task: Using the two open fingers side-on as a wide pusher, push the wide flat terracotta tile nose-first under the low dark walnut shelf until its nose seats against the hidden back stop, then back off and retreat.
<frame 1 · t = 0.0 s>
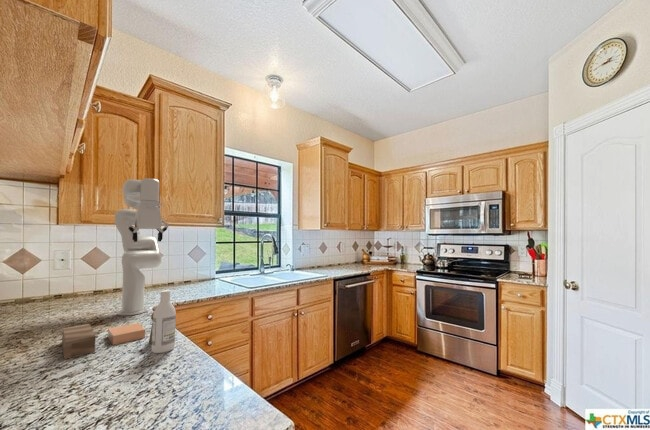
hand: (147, 241, 130), 37 cm above the countertop, tool pointing down, fingers open, 9 cm apart
tile: (126, 338, 109), on the countertop
bath foam: (163, 350, 96), on the countertop
cork: (158, 341, 104), on the countertop
shelf: (77, 347, 99), on the countertop
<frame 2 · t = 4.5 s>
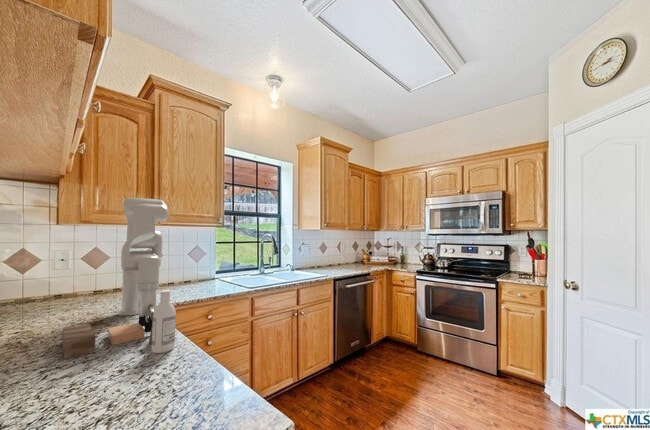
hand: (146, 328, 114), 2 cm above the countertop, tool pointing down, fingers open, 9 cm apart
tile: (125, 338, 109), on the countertop, touching gripper
everything else where it was.
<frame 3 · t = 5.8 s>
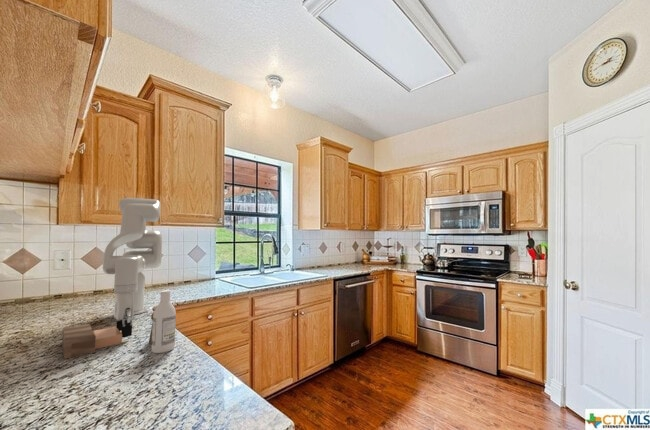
hand: (123, 333, 108), 2 cm above the countertop, tool pointing down, fingers open, 9 cm apart
tile: (101, 343, 103), on the countertop, touching gripper
everything else where it was.
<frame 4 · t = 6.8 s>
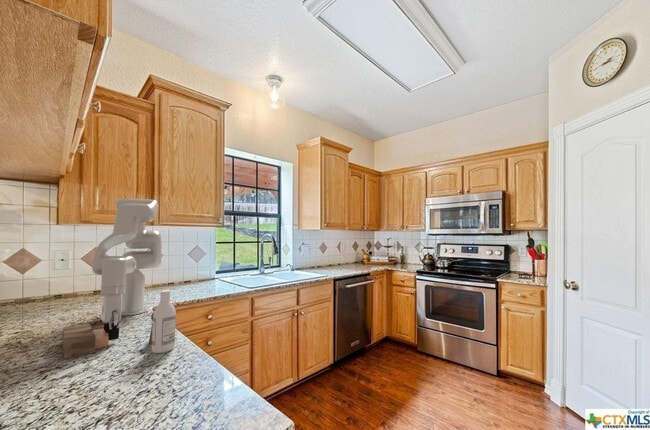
hand: (110, 336, 105), 1 cm above the countertop, tool pointing down
tile: (87, 345, 101), on the countertop, touching gripper
everything else where it was.
when the fingers open (1 cm above the countertop, at t = 7.9 s): tile stays where it is, on the countertop.
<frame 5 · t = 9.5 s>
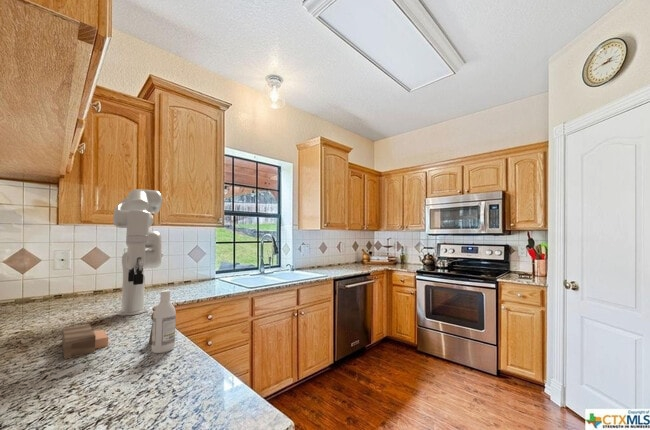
hand: (135, 282, 113), 20 cm above the countertop, tool pointing down, fingers open, 9 cm apart
tile: (87, 346, 101), on the countertop
everything else where it was.
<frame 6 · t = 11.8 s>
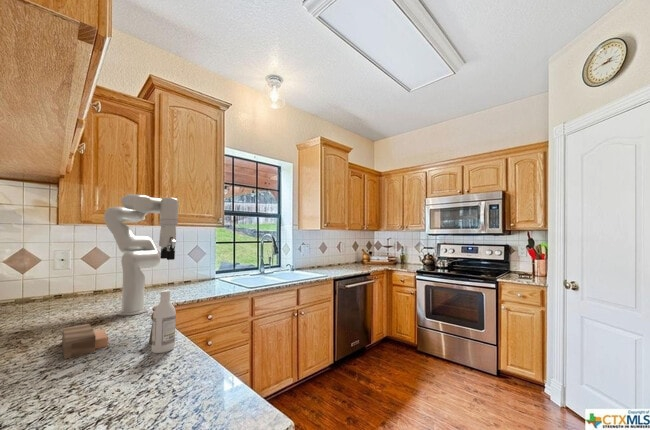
hand: (167, 259, 133), 28 cm above the countertop, tool pointing down, fingers open, 9 cm apart
nothing on the countertop moved.
at the end: tile 0.2 cm from the target spot, on the countertop; tile tilted 0° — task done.
